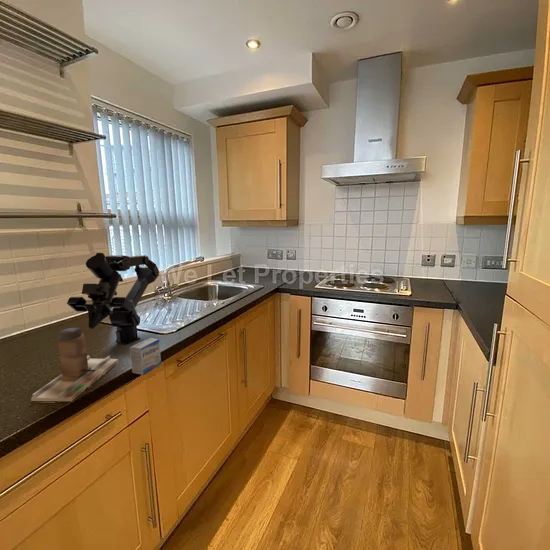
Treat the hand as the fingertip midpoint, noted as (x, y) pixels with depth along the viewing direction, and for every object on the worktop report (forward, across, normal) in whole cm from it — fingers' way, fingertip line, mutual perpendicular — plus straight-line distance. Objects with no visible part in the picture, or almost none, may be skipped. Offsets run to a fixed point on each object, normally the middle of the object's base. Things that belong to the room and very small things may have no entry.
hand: (90, 328), depth 94 cm
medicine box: (+10, +18, +8) cm, 22 cm away
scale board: (+15, 0, +3) cm, 15 cm away
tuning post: (+14, +2, +2) cm, 14 cm away
